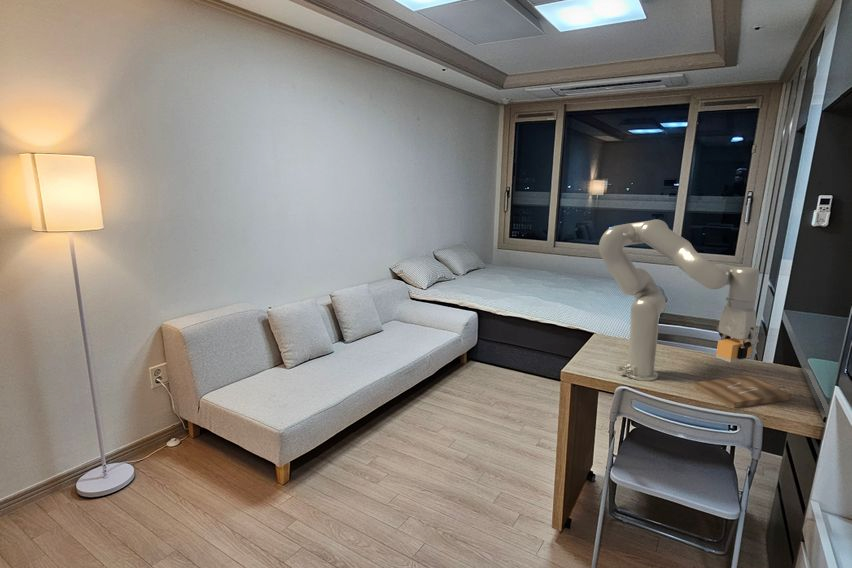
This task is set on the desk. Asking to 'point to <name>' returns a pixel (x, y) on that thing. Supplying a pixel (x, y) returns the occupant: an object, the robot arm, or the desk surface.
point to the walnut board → (742, 391)
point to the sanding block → (730, 350)
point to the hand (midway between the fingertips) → (733, 354)
